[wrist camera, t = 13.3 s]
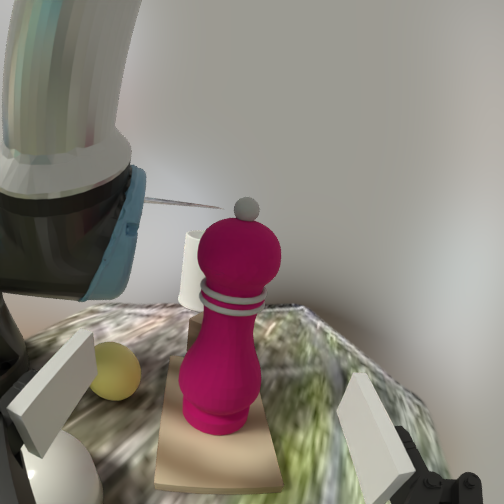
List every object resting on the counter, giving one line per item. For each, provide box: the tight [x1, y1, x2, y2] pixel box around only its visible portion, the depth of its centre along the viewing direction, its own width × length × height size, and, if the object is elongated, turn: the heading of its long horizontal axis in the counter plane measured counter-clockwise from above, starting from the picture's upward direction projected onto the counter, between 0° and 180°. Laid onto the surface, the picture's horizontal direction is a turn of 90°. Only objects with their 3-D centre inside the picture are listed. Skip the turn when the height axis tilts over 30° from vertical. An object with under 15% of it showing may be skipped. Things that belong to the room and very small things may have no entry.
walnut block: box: [187, 311, 204, 352], centre depth 38 cm, size 5×5×5 cm
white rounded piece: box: [21, 430, 103, 504], centre depth 13 cm, size 8×8×4 cm
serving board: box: [154, 355, 284, 494], centre depth 26 cm, size 18×10×1 cm, turn 8°
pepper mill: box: [178, 197, 281, 435], centre depth 23 cm, size 7×7×20 cm
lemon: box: [89, 342, 141, 401], centre depth 25 cm, size 6×6×6 cm
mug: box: [178, 231, 205, 312], centre depth 51 cm, size 12×8×12 cm
